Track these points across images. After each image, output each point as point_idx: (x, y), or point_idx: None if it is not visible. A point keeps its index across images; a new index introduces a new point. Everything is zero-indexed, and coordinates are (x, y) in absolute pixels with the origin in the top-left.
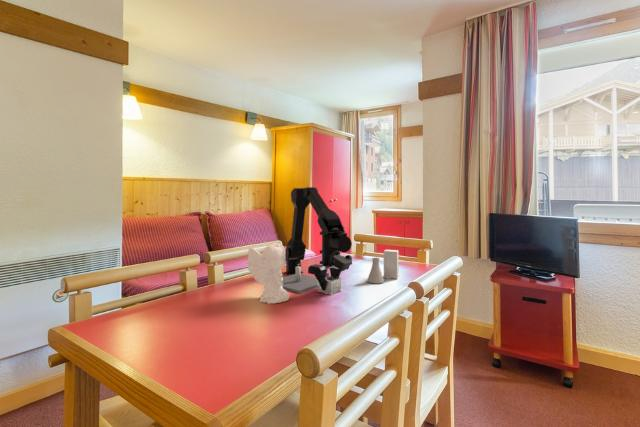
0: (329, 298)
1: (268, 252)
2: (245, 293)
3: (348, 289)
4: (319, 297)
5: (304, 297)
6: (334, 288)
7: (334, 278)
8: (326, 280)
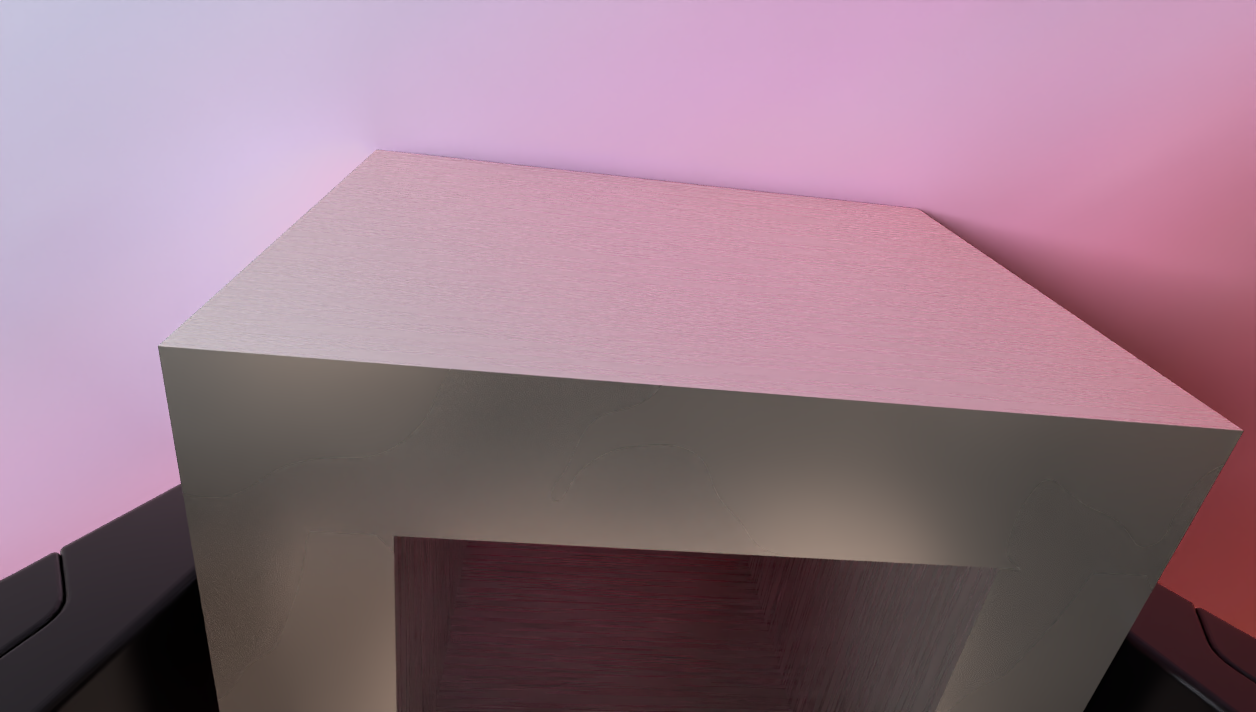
0: (1197, 96)
1: None
2: None
3: (14, 9)
4: (1177, 363)
5: (1250, 595)
6: (782, 242)
7: (407, 618)
8: (1088, 676)
